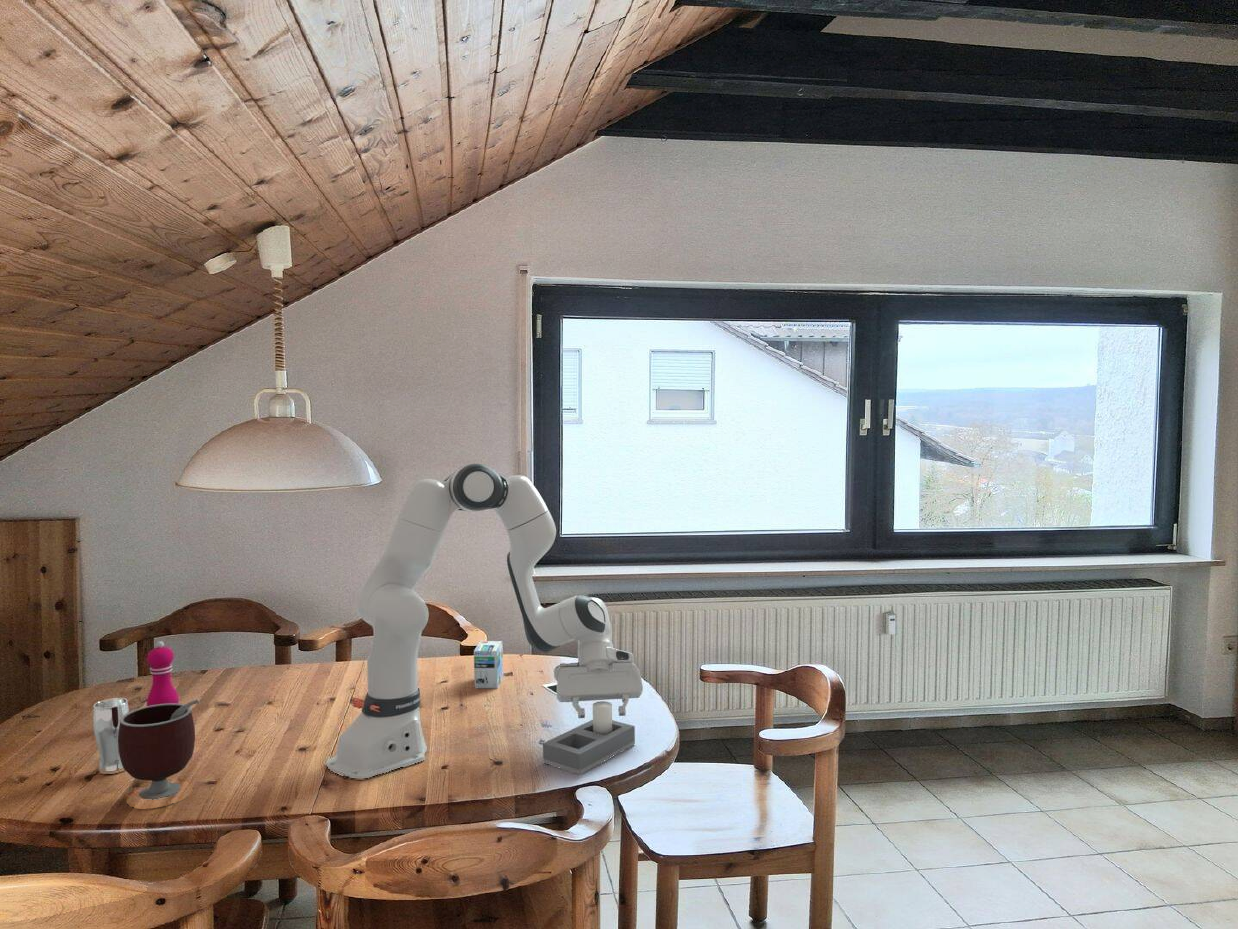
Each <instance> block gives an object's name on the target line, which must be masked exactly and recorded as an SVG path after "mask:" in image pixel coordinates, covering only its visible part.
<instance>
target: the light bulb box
mask: <svg viewBox="0 0 1238 929" xmlns="http://www.w3.org/2000/svg"><path fill="white" fill-rule="evenodd" d="M503 647H504V646H503V641H502V640H488V641H487V640H479V642H478V644H477V646H476V647H475V649H474V650H473V668H474V669H473V671H474V689H498V688H499V686H500V685H501V683H502V680H503V679H504V659H503V658H504V656H503V655H504V652H503V651H504V649H503Z"/></svg>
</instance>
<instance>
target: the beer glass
mask: <svg viewBox="0 0 1238 929" xmlns="http://www.w3.org/2000/svg"><path fill="white" fill-rule="evenodd" d="M128 712H130V707H129V700H128V699H127V698H126V697H113V698H107V699H103V700H99V701H97V702H95V703H94V704H93V713H92V716H93V717H92V718H93V719H92V722H93V723H92V725H93V734H94V736H95V737H94V738H95V742H96V745H97V750H98V753H99V764H98V770H99V769H100V770H102V771H105V772H106V771H115V770H118V769H121V768H123V766H122V763H121V760H120V756H119V751H118V733H119V726H120V718H121V717H122V716H123V715H125V714H126V713H128Z"/></svg>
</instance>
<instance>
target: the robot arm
mask: <svg viewBox="0 0 1238 929" xmlns="http://www.w3.org/2000/svg"><path fill="white" fill-rule="evenodd" d="M546 504H547V503H546V502H545V501H544V499H543V497H542V495H541V493H540V492H539V490H538V489H537V488H536V487H535V485H534V484H533V482H532V481H531V480H530V479H529V478H528V477H527V476H525V475H521V474H520V475H519V474H516V475H510V476H508V477H506V478H505V477H504V476H503V475H501V474H500V473H498V472H497V471H495V470H494V469H493V468H491V467H489V466H488V465H485V464H480V463H468V464H465V465H462V466H460V467H459V468H457V470H455V471H453V473H451V475H449V476H447V478H446V479H444V480H443V481H441V480H440V481H439V480H437V479H434V478H426V479H425V478H423V479H420V480H418V481H417V482H415V483H414V485H413V486H412V488H411V489H410V491H409V493H408V494H407V496H406V498H405V500H404V502H403V504H402V506H401V509H400V511H399V513H398V515H397V519H396V521H395V524H394V527H393V529H392V531H391V535H390V537H389V539H388V542H387V544H386V547H385V549H384V551H383V553H382V555H381V557H380V558H379V561H378V562H377V564H376V566H375V567H374V569H373V570H372V571H371V573H370V575H369V577H367V580H366V581H365V582H364V583H362V585H360V587H358V589H357V591H356V594H355V596H354V604H355V608H356V611H357V612H358V615H359V616H360V618H361V619H362V620H363V621H364V622H365V623H367V624H368V625H370V626H371V627H372V630H373V639H372V643H371V650H370V654H369V655H368V656H367V660H366V672H367V673H366V674H367V675H366V676H367V692H366V694H365V697H364V699H360V698H359V697H355V698H354V699H353V701H352V703H351V705H352V707H353V708H356V709H361V712H360V714H358V716H357V717H356V718H355V719H354V721H353V722H352V723H351V724H350V725H349V726H348V727H347V729H345V731H344V732H343V733H342V734H341V735H340V736H339V738H338V740H337V747H336V754H335V755H334V756H332V757H331V758H329V759H326V761H325V766H326V765H327V767H328V768H329V769H330V770H332V771H334V772H335V773H339V774H341V775H345V776H349V777H353V778H361V779H360V780H364V779H363V778H368V777H371V776H374V775H377V774H380V773H384V774H387V773H390V772H392V771H391V770H394V769H397V768H400V767H403V768H406V767H409V766H412V765H415V763H416V764H418V762H419V763H422V762H424V761H426V757H425V755H426V754H425V753H426V752H427V750H428V746H427V743H426V741H425V737H424V733H423V729H422V722H421V715H420V706H421V690H420V688H419V686H418V685H419V680H418V675H419V674H418V672H419V671H418V654H419V648H420V642H421V636H422V632H423V630H425V628H426V626H427V624H428V621H429V615H430V614H429V608H428V606H427V603H426V602H425V601H424V599H423V598H422V597H421V596H420V594H418V592H416V591H415V589H416V586H418V583H419V582H420V580H421V579H422V577H423V575H424V574H425V573H427V571H429V570H430V569H431V567H432V566H433V564H434V562H435V559H436V556H437V553H438V552H439V548H440V545H441V542H442V540H443V537H444V534H445V531H446V528H447V525H448V523H449V521H450V518H451V517H452V515H454V513H455V512H456V511H464V512H470V513H471V512H472V513H477V512H480V511H486V510H493V511H494V512H495V513H496V514H497V515H498V517H499V518H500V520H501V521H502V523H503V526H504V528H505V530H506V533H507V536H508V538H509V545H510V546H509V547H510V548H509V552H508V553H507V556H506V563H507V568H508V573H509V576H510V580H511V584H512V588H513V590H514V594H515V597H516V600H517V603H518V608H519V610H520V613H521V617H522V622H523V627H524V628H523V629H524V633H525V634H524V635H525V637H526V639H527V642H528V644H529V646H531V647H532V648H534V649H536V650H537V651H540V652H543V653H549V652H551V651H554V650H556V649H558V648H559V647H561V646H563V645H566V644H567V643H571V642H573V641H576V640H577V644H578V646H577V661H578V662H569V663H568V662H567V663H565V662H563V663H559V665H557V666H555V667H554V669H553V676H554V679H555V681H556V682H557V695H556V699H557V700H558V702H559V703H571V704H572V705H571V706H572V707H573V708H574V709H575V712H577V718H578V719H585V718H586V713H585V712H586V711H585V710H586V709H585V707H584V708H583V707H581V706H580V704H579V702H589V701H591V702H592V701H607V700H608V701H609V700H621V703H622V705H619V706H618V709H617V710H618V716H619V717H621V716H622V717H624V716H626V715H627V714H626V708H627V706H628V703H629V700H630V699H639V698H640V697H641V696H642V695H643V691H644V688H643V687H644V686H643V685H644V684H643V681H642V676H641V672H640V670H639V668H638V666H637V665H636V664H635V663H634V662H635V658H634V657H635V656H634V654H633V653H632V652H630V651H626V650H620V649H617V648H614V644H613V642H612V636H613V632H612V629H613V628H612V623H611V619H610V618H611V617H610V614H609V611H608V608H607V605H606V603H605V602H604V601H603V600H602V599H600V598H598V597H595V596H594V597H593V596H592V597H589V596H586V595H584V594H578V595H574V596H571V597H569V598H566V599H563V600H561V601H560V602H557V603H555V604H553V605H550V606H547V607H543V606H542V605H541V602H540V600H539V596H538V593H537V589H536V586H535V582H534V579H533V570H534V567H535V566H536V565H537V563H538V562H539V561H540V560H541V559H542V558H543V557H544V556H545V554H546V553H547V552H548V551H549V550H550V549H551V548H552V546H553V545H554V542H555V539H556V536H557V528H556V524H555V523H556V522H555V521H554V518H553V516H552V514H551V512H550V510H549V509H548V506H547V505H546ZM423 760H424V761H423ZM421 761H422V762H421ZM327 767H326V768H327ZM400 769H401V768H400ZM397 770H398V769H397ZM389 771H390V772H389ZM394 771H395V770H394ZM386 772H387V773H386ZM335 773H334V774H335ZM371 778H372V777H371ZM368 779H369V778H368Z"/></svg>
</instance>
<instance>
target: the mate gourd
mask: <svg viewBox="0 0 1238 929" xmlns="http://www.w3.org/2000/svg"><path fill="white" fill-rule="evenodd" d="M198 703H199V699H193V700H191V701H189V702H186V703H185V704H184V703H178V704H177V703H169V704H158V705H151V706H147V705H146V706H143V707H139V708H136V709H133V710H131V711H130V710H129V712H128V713H126V714H125V715H123V716H122V717H121V718H120V726H119V733H118V751H119V756H120V760H121V763H122V766H123V768H124V770H125V771H124V772H127V774H129V775H130V777H132V778H133V779H136V780H138V781H139V780H140V781H151V783H150V784H151V786H150V787H147V788H145V789H143V790H142V791H141V792H140V793H139V796H140V797H141V798H143V799H152V800H153V799H158V798H163V797H169V796H171V795H173V794H175V793H176V792H178V791H179V790H180V785H179V784H176V783H169V782H168V780H169V779H168V778H169V777H172V776H174V775H176V774H178V773H180V772H181V771H183V770H184V769H185V768H186V767H187V765H188V763H189V762H190V761H191V759H192V758H193V754H194V752H195V751H194V750H195V745H196V744H195V742H196V731H195V729H196V727H195V723H194V717H193V714H192V709H191V706H193V705H197V704H198Z"/></svg>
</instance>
